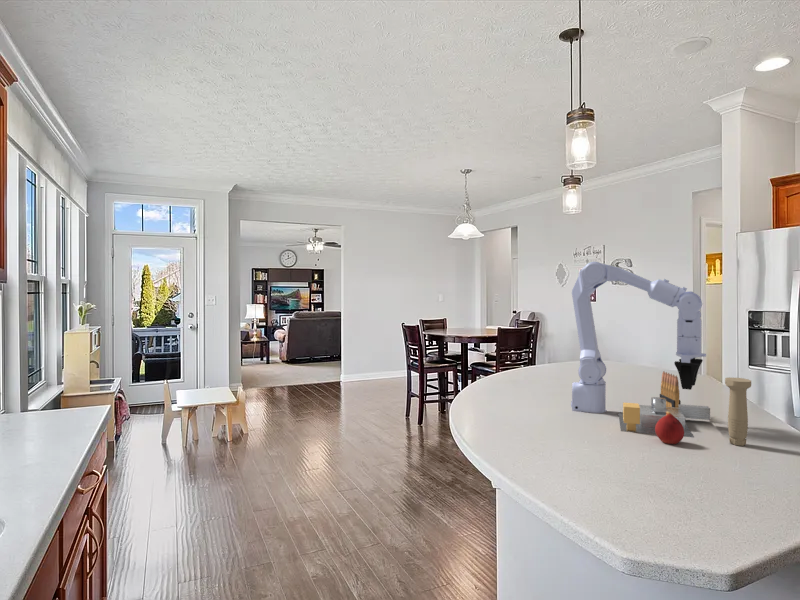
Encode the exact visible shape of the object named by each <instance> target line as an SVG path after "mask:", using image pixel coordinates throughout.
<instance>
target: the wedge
mask: <svg viewBox="0 0 800 600" xmlns="http://www.w3.org/2000/svg"><path fill="white" fill-rule="evenodd" d="M639 405H640V404H639V403H638V402H637V403H635V402H622V414H623V421H624V423H627V430H632V431H636V424H640V407H639Z"/></svg>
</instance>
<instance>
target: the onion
mask: <svg viewBox="0 0 800 600" xmlns="http://www.w3.org/2000/svg"><path fill="white" fill-rule="evenodd" d="M655 432H656V434H655V435H656V436H657V438H658V439H659V440H660V441H661V442H662V443H663V444H666V445H677V444H679V443H680V442H681V441H682V440H683V438H685V437H684V428H683V426H682V424H681V423H680V421H679V420H678V419H677V418H675V417H674V416H673V415H672V414H671V413H670V412H666V416H664V417H662V418H661V419H660V420H659V421H658V422H657V424H656V426H655Z"/></svg>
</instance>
